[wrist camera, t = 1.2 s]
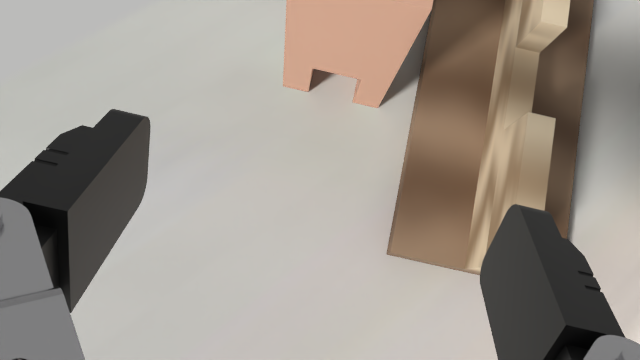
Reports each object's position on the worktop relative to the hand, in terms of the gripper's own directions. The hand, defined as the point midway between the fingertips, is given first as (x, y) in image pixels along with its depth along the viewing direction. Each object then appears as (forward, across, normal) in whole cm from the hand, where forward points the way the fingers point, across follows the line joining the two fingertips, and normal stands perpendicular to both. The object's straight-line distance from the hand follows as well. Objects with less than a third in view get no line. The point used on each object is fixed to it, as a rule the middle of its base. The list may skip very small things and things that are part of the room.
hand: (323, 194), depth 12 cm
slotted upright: (+23, 0, +6) cm, 23 cm away
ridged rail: (+22, -10, +6) cm, 25 cm away
